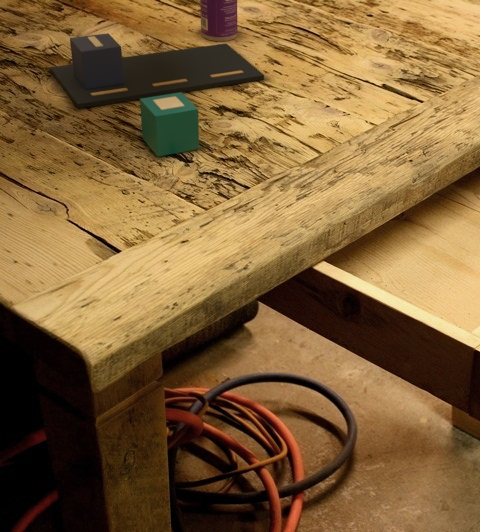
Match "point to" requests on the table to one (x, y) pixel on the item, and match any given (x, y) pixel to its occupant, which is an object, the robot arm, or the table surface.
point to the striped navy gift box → (97, 61)
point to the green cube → (169, 124)
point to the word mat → (163, 75)
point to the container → (218, 19)
